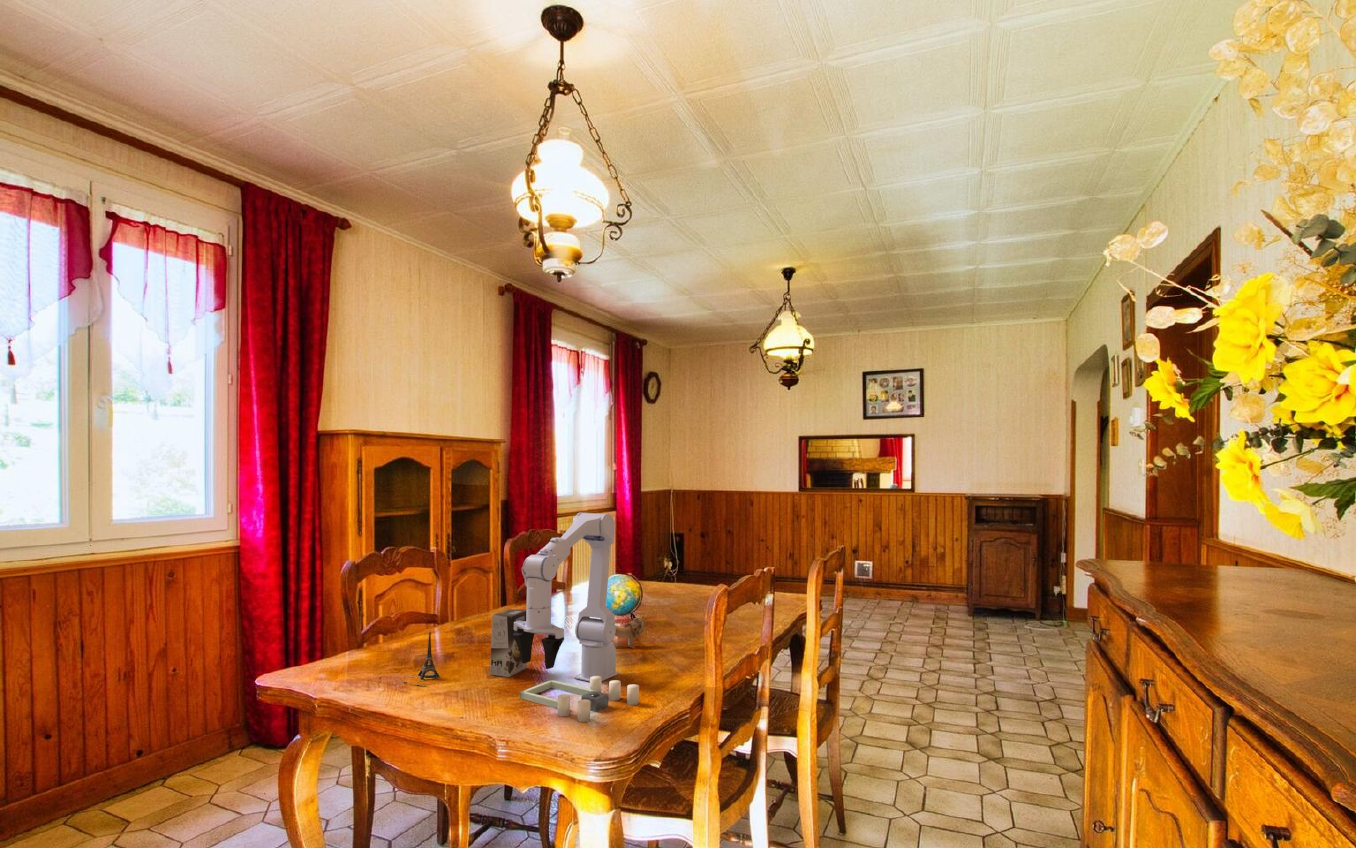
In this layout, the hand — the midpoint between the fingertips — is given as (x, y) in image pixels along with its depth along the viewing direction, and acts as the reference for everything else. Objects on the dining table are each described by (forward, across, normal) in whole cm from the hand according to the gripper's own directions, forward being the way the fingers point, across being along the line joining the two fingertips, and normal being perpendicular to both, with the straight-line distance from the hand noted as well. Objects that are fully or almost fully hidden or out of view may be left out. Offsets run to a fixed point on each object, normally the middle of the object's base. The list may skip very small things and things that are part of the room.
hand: (537, 665), depth 154 cm
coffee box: (+10, -26, +16) cm, 32 cm away
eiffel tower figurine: (+11, -41, +1) cm, 43 cm away
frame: (+10, -1, +8) cm, 13 cm away
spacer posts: (+10, +11, +8) cm, 17 cm away
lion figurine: (+10, -16, +54) cm, 57 cm away
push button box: (+10, +11, +8) cm, 17 cm away
